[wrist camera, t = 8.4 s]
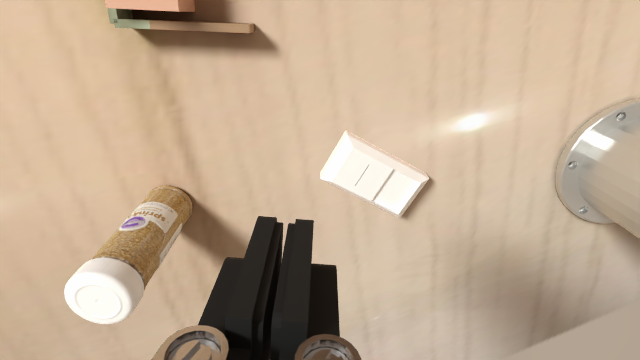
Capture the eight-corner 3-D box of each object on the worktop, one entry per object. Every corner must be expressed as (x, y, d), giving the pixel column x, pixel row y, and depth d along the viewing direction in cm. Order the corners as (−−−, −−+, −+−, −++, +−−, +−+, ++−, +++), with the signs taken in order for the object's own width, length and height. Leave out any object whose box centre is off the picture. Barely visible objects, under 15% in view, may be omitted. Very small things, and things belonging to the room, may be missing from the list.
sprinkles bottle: (179, 177, 35) (106, 266, 22) (202, 215, 37) (146, 316, 24) (138, 192, 35) (45, 287, 23) (162, 229, 37) (89, 334, 25)
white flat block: (345, 128, 33) (348, 137, 31) (423, 170, 35) (432, 182, 33) (320, 171, 35) (320, 182, 33) (395, 209, 37) (401, 222, 35)
